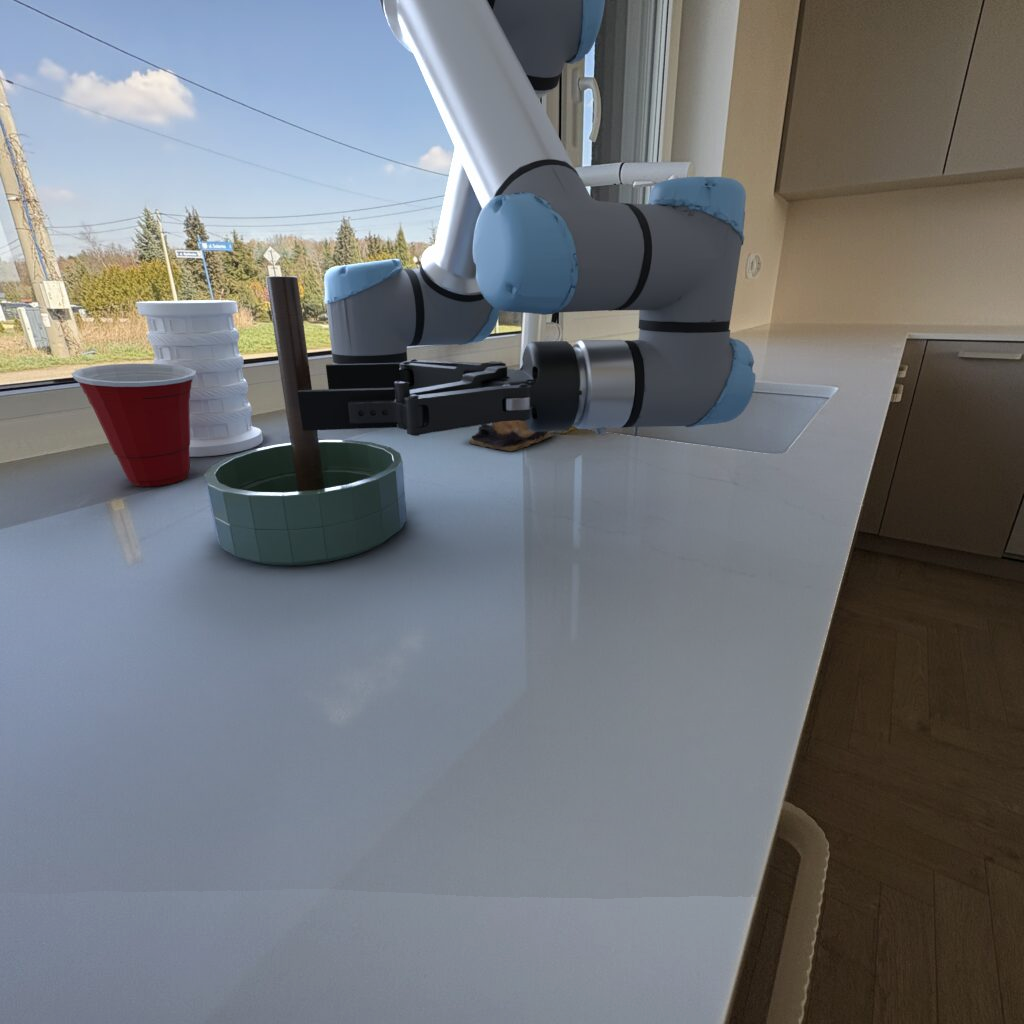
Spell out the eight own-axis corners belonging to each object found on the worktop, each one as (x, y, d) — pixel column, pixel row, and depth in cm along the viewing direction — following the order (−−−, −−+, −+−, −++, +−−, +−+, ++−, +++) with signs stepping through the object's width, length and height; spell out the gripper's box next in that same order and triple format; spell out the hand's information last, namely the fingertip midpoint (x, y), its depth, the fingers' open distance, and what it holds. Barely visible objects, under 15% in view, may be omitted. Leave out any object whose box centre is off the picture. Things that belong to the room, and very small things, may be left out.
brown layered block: (511, 428, 85) (511, 404, 84) (558, 437, 80) (559, 411, 79) (463, 442, 77) (462, 416, 76) (512, 453, 72) (512, 424, 71)
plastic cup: (167, 499, 57) (138, 377, 52) (77, 491, 59) (41, 374, 54) (237, 467, 67) (217, 362, 62) (157, 461, 69) (133, 360, 64)
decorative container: (218, 431, 83) (192, 299, 76) (281, 438, 79) (260, 300, 72) (146, 451, 73) (108, 302, 66) (213, 460, 69) (181, 303, 62)
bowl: (305, 490, 59) (297, 434, 57) (437, 510, 54) (434, 449, 52) (175, 550, 46) (157, 480, 44) (334, 585, 41) (323, 507, 38)
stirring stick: (312, 509, 53) (279, 276, 45) (355, 516, 51) (328, 276, 44) (274, 528, 49) (231, 276, 41) (320, 537, 47) (284, 276, 39)
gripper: (615, 472, 39) (293, 488, 36) (540, 401, 62) (339, 407, 59) (624, 359, 36) (274, 366, 33) (542, 329, 59) (331, 332, 56)
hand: (315, 393), depth 46 cm, fingers open, 13 cm apart
